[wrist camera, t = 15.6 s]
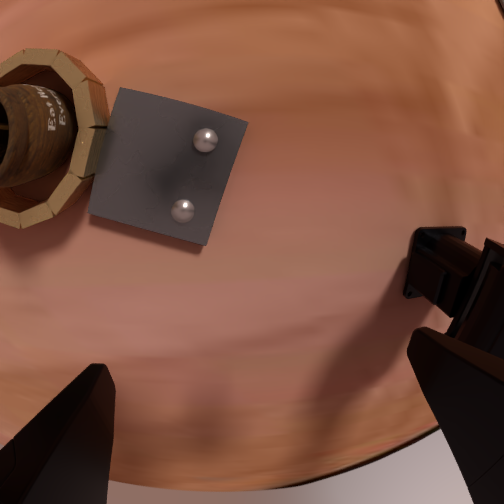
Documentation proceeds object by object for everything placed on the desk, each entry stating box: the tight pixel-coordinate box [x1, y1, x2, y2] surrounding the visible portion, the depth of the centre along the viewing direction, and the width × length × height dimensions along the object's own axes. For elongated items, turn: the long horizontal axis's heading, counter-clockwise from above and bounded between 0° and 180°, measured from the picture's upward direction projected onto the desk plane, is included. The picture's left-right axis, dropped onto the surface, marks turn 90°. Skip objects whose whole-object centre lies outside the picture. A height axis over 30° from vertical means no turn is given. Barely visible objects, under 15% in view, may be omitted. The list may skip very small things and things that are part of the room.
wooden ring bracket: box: [0, 49, 248, 246], centre depth 14 cm, size 27×11×3 cm, turn 70°
